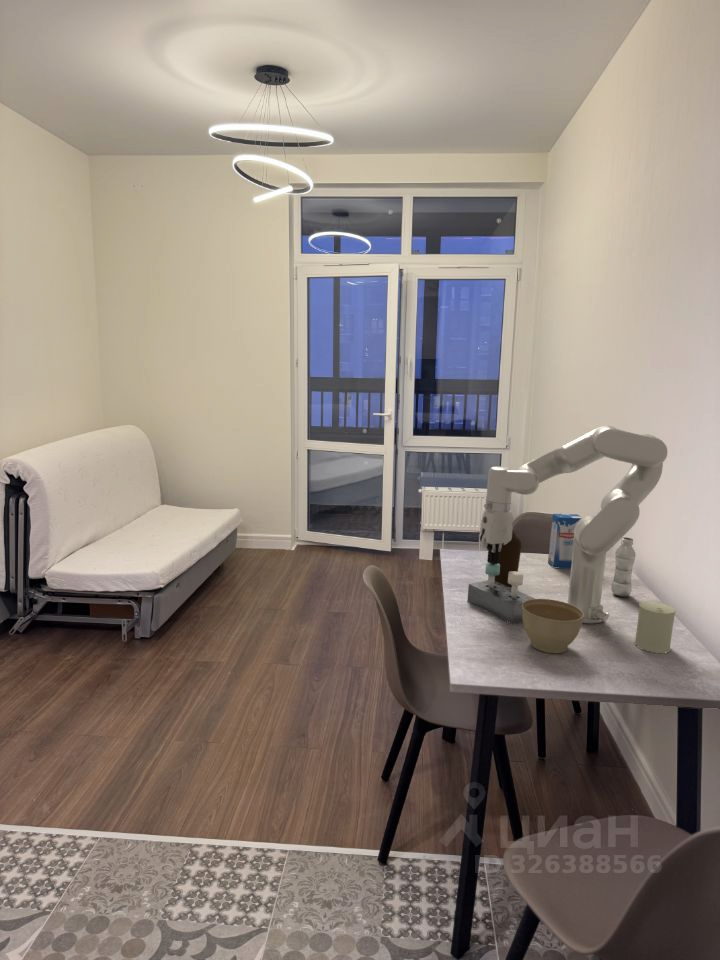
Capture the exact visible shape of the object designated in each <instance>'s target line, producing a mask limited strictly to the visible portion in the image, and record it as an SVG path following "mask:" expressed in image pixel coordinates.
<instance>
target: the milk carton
mask: <svg viewBox="0 0 720 960" xmlns="http://www.w3.org/2000/svg"><path fill="white" fill-rule="evenodd" d="M583 517H584V516H581V515H579V514H576V513H575V514H574V513H573V514H572V513H552V519H551V529H550V538H549V547H548V559H547V564H548V563H549V564H548V565H550V567H552V566H553V567H559V568H558V569H571V565H572V557H573V544H574V530H575V526H576V524H577V522H578V521H579V520H580V519H581V518H583ZM553 567H552V568H553Z"/></svg>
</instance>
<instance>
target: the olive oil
mask: <svg viewBox="0 0 720 960" xmlns="http://www.w3.org/2000/svg"><path fill="white" fill-rule="evenodd" d="M513 520H514V519H513V517H512V521H513ZM521 553H522V541H521V539H520V537H519V535H518V534H517V533H516V532H515V530H513V528H512V539H511V541H509V542H508V543H507V544H505V545H503V546H502V548H501V551H500V552H499V558H498V564H500V573H499V575H497V576H495V581H496V582H498V583H501V584H503V585H505V586H507V587H510V588H512V585H511V584H509V583H508V574H509V572H511V571H516V572H519V567H520V561H521V560H520V559H521V555H522V554H521ZM488 580H489V575H488V579H487V581H488Z"/></svg>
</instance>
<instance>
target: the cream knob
mask: <svg viewBox="0 0 720 960" xmlns="http://www.w3.org/2000/svg"><path fill="white" fill-rule="evenodd" d="M508 583H509V584H511V585H512V590H511V598H512V599H517V591H518V590H519V589H518V588H519V586H522V585H523V584H524V573H523V572H521V571H518V572H516V571H511V572H509V574H508Z"/></svg>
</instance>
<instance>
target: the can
mask: <svg viewBox="0 0 720 960" xmlns="http://www.w3.org/2000/svg"><path fill="white" fill-rule="evenodd" d="M676 611H677V610H676V609H675V608H674V607H672V606H671V605H669V604H667V603H666V604H665V603H662V602H658V601H652V600H651V601H642V602H640V603H639V608H638V618H637V624H636V625H637V626H636V631H635V632H636V633H635V639H634V645H635V646H636V645H637V646H638V647H639V648H638V647H637V646H636V647H637V648H638V649H640V648H642V649H644V650H643V651H645V650H647V651H646V652H648V651H651V652H650V653H652V652H657V653H656V654H659V653H663V654H666V653H665V652H668V653H669V652H671V645H672V644H671V643H672V635H673V628H674V621H675V615H676ZM642 649H641V650H642Z"/></svg>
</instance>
